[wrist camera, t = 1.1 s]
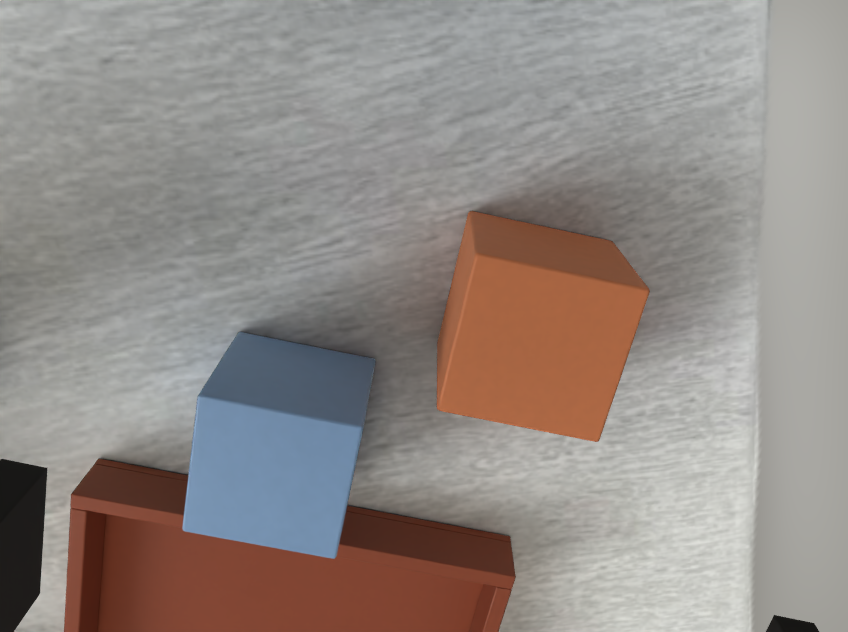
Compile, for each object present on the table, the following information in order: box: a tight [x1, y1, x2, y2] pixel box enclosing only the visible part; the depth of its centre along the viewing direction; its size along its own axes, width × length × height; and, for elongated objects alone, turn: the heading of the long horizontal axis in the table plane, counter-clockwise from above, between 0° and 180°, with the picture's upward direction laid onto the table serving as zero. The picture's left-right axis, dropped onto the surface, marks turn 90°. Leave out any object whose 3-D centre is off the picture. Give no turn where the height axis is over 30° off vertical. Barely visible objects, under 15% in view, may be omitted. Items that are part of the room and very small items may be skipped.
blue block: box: [182, 332, 376, 559], centre depth 26 cm, size 5×5×5 cm
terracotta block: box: [437, 211, 650, 442], centre depth 24 cm, size 5×5×5 cm
